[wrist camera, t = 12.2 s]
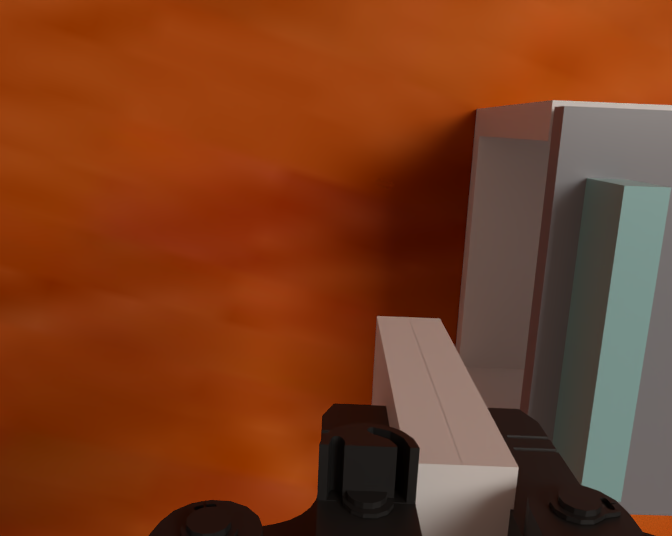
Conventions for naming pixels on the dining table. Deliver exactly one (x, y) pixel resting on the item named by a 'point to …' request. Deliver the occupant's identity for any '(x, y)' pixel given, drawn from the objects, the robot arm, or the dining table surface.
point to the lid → (606, 304)
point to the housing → (506, 242)
